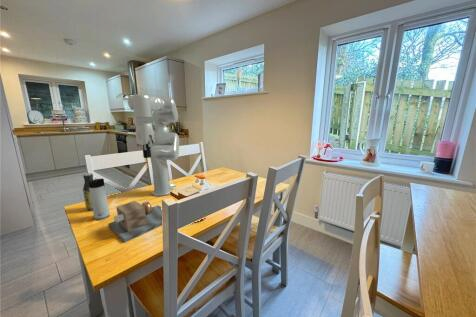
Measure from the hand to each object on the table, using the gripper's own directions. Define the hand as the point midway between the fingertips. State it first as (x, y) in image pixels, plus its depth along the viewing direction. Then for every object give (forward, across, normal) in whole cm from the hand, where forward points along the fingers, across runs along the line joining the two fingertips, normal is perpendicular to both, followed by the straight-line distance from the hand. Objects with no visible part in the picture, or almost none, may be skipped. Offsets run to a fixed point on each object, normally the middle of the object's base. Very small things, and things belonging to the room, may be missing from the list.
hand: (147, 157), depth 98 cm
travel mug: (+29, -12, -20) cm, 37 cm away
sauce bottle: (+29, -26, -20) cm, 44 cm away
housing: (+29, +9, -9) cm, 32 cm away
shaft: (+26, +9, -13) cm, 30 cm away
